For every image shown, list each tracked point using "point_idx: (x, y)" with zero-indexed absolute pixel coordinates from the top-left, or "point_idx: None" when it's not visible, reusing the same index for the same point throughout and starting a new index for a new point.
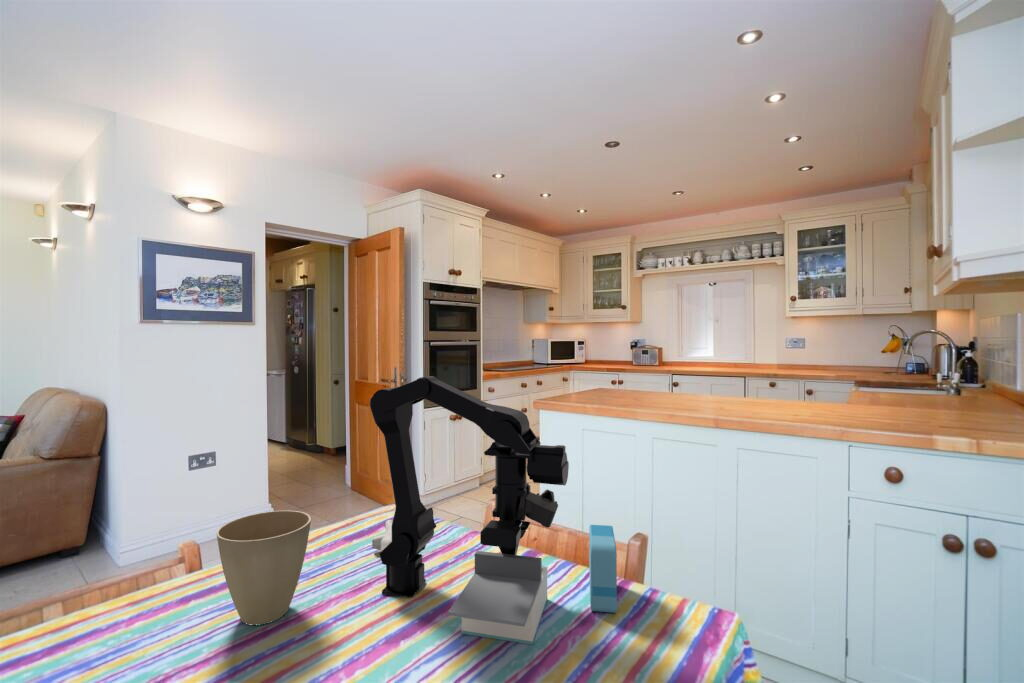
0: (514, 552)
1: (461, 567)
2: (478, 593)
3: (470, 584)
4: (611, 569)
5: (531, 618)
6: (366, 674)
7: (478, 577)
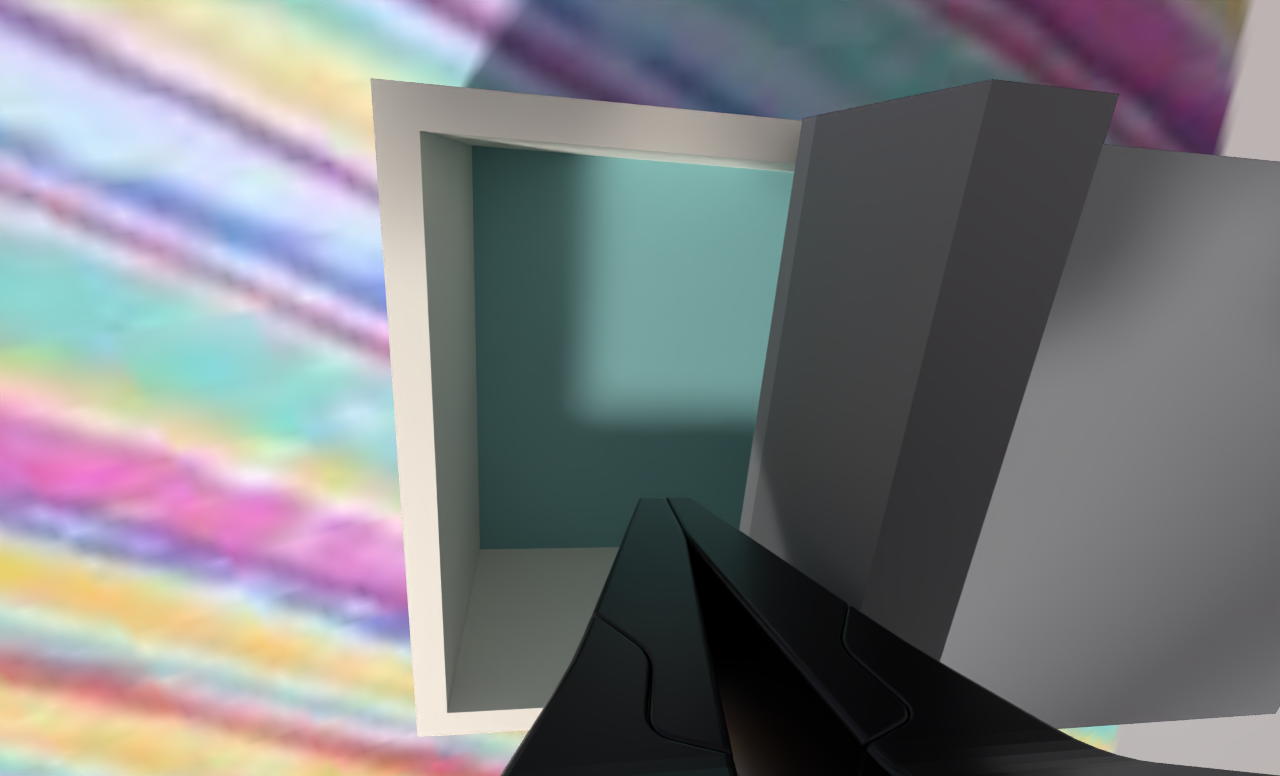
0: (836, 601)
1: (211, 770)
2: (1083, 628)
3: None
4: None
5: None
6: (1114, 744)
7: None
